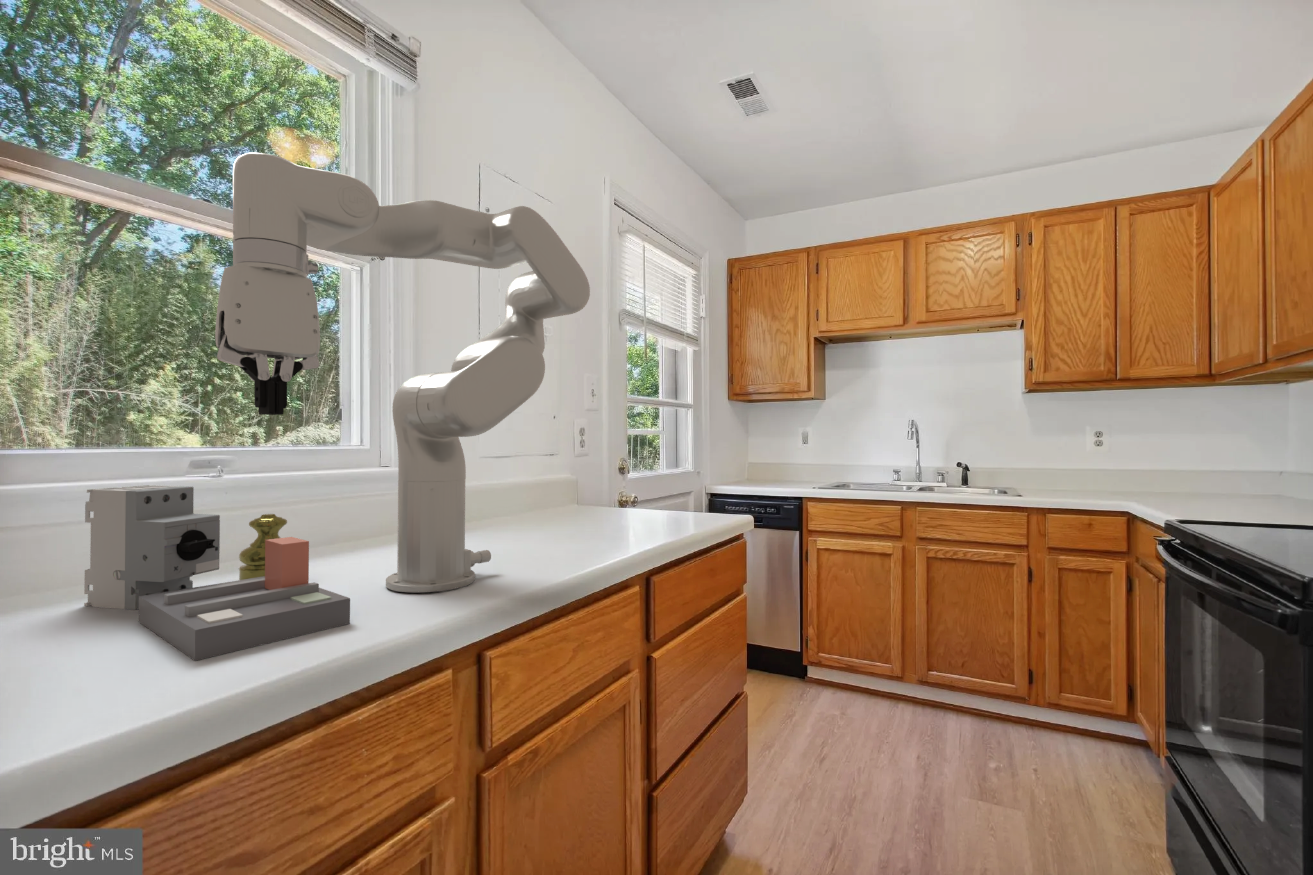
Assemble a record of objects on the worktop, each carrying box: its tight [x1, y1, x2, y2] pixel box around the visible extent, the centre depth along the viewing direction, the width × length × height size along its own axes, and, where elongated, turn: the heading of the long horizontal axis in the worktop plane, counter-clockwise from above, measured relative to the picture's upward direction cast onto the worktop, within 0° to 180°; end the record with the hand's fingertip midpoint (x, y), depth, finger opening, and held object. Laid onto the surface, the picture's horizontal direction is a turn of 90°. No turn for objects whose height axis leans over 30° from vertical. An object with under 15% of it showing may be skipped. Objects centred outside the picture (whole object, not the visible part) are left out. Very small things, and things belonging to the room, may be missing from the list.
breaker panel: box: [138, 576, 351, 661], centre depth 70 cm, size 15×20×4 cm
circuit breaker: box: [83, 484, 221, 611], centre depth 79 cm, size 8×14×15 cm, turn 78°
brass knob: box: [238, 513, 288, 580], centre depth 92 cm, size 7×7×10 cm
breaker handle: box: [265, 536, 310, 590], centre depth 74 cm, size 3×5×6 cm, turn 53°
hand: (270, 414), depth 73 cm, fingers closed
